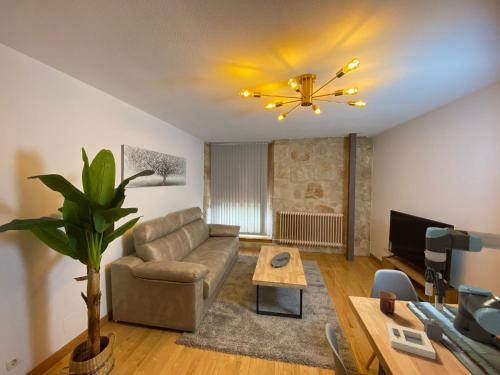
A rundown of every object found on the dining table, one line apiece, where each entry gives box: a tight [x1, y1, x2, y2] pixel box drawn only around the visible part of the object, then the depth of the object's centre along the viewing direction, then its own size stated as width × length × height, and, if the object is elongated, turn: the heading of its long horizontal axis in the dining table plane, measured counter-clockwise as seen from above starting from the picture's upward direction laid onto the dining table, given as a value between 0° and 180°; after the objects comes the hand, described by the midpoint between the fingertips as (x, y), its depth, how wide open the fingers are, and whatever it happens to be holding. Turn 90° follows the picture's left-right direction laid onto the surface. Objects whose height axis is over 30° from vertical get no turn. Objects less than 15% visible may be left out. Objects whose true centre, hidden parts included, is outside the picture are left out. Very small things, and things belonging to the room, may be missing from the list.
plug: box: [423, 318, 444, 342], centre depth 104 cm, size 6×4×8 cm
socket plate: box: [385, 321, 437, 360], centre depth 100 cm, size 16×14×4 cm
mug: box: [378, 290, 397, 316], centre depth 122 cm, size 12×9×10 cm
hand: (433, 301), depth 104 cm, fingers open, 13 cm apart
